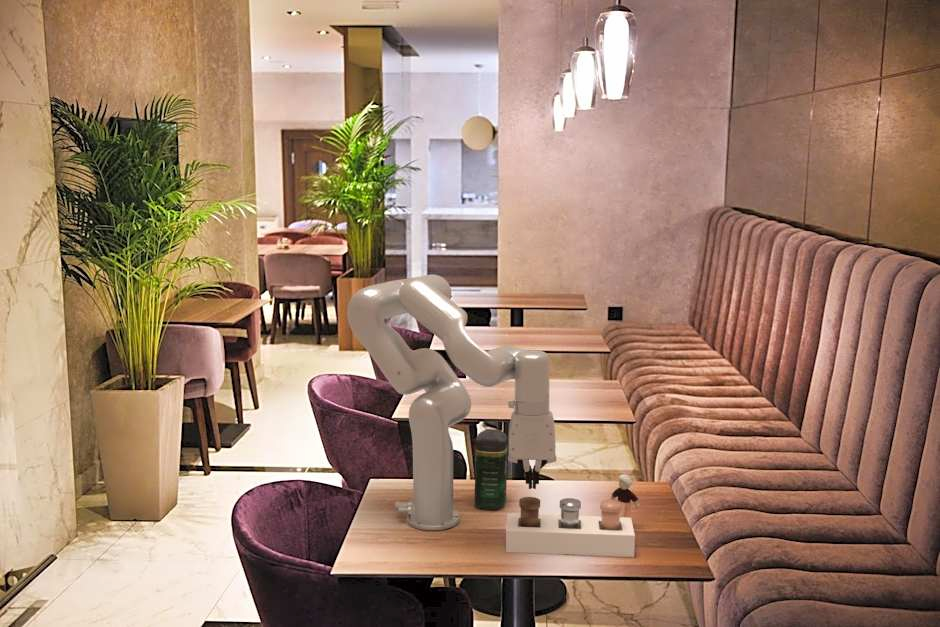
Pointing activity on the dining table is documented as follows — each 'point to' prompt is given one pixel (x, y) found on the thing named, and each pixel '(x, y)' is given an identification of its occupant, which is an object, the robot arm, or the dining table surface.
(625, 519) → the socket strip
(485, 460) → the coffee jar
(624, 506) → the grandmother figurine
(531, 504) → the walnut plug
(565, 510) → the grey plug
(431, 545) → the dining table surface
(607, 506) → the terracotta plug
